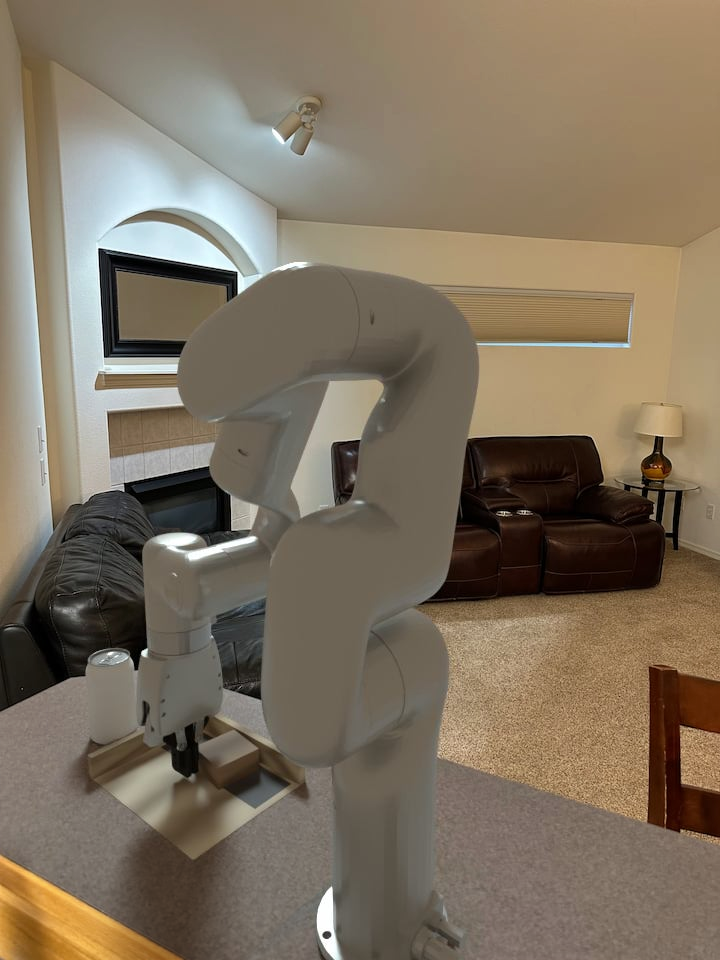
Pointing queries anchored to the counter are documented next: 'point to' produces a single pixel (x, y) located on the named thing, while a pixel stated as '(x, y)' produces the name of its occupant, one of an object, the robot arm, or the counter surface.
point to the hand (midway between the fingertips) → (185, 770)
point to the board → (192, 787)
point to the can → (111, 695)
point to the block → (227, 759)
